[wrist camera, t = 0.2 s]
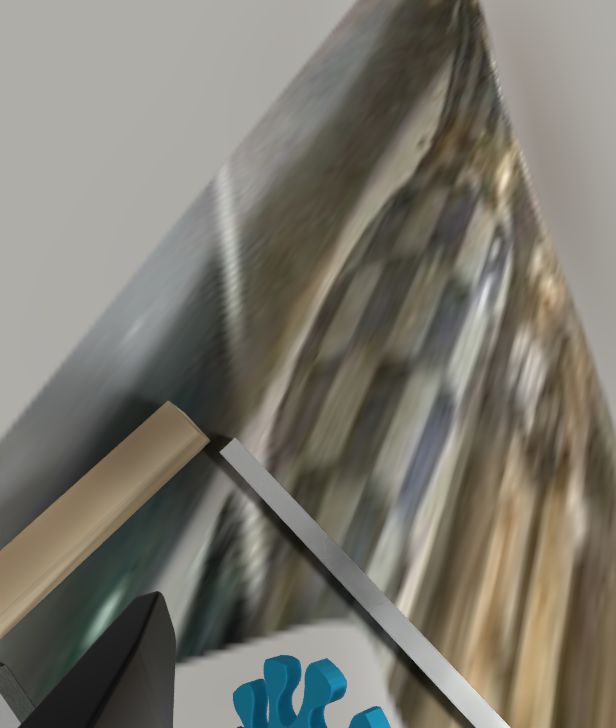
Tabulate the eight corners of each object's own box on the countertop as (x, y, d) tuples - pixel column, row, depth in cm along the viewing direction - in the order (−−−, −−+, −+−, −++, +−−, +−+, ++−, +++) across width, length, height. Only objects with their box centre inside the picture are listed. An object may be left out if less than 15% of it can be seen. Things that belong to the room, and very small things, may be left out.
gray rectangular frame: (528, 746, 20) (542, 761, 18) (271, 1105, 16) (269, 1150, 15) (238, 440, 23) (235, 437, 22) (-15, 683, 20) (-34, 693, 19)
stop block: (210, 440, 23) (197, 431, 21) (-8, 646, 21) (-59, 668, 18) (185, 413, 24) (168, 400, 21) (-32, 611, 21) (-86, 627, 18)
